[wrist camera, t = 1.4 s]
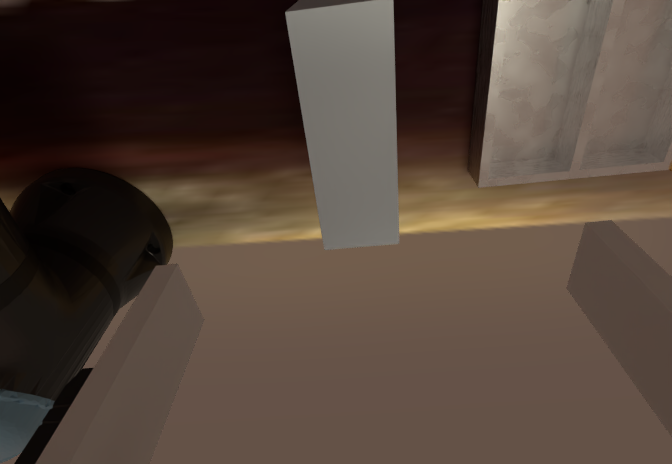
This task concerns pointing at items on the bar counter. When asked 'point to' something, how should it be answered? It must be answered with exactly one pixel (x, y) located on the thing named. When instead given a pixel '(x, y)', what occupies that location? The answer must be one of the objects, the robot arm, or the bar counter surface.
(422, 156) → the bar counter surface
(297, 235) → the bar counter surface
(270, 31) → the bar counter surface
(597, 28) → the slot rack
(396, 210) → the blanking panel
